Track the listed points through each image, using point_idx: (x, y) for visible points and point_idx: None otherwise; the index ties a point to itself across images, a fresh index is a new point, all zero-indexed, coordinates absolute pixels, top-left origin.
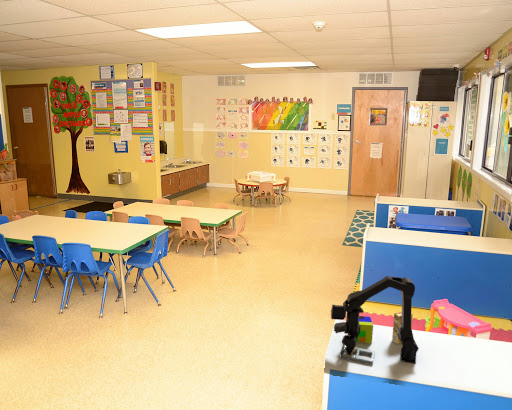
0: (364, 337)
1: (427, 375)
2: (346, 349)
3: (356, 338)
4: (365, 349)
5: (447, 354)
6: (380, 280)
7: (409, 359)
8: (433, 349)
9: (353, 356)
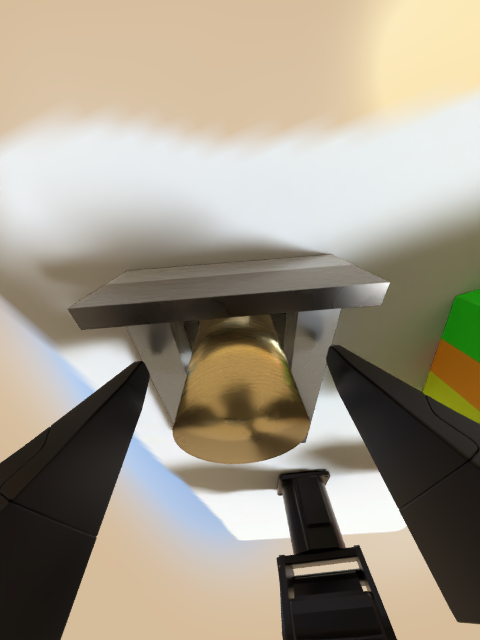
0: (478, 402)
1: (227, 504)
2: (204, 339)
3: (379, 468)
4: (308, 413)
5: (352, 508)
6: None
7: (283, 496)
8: (375, 496)
9: (169, 381)
